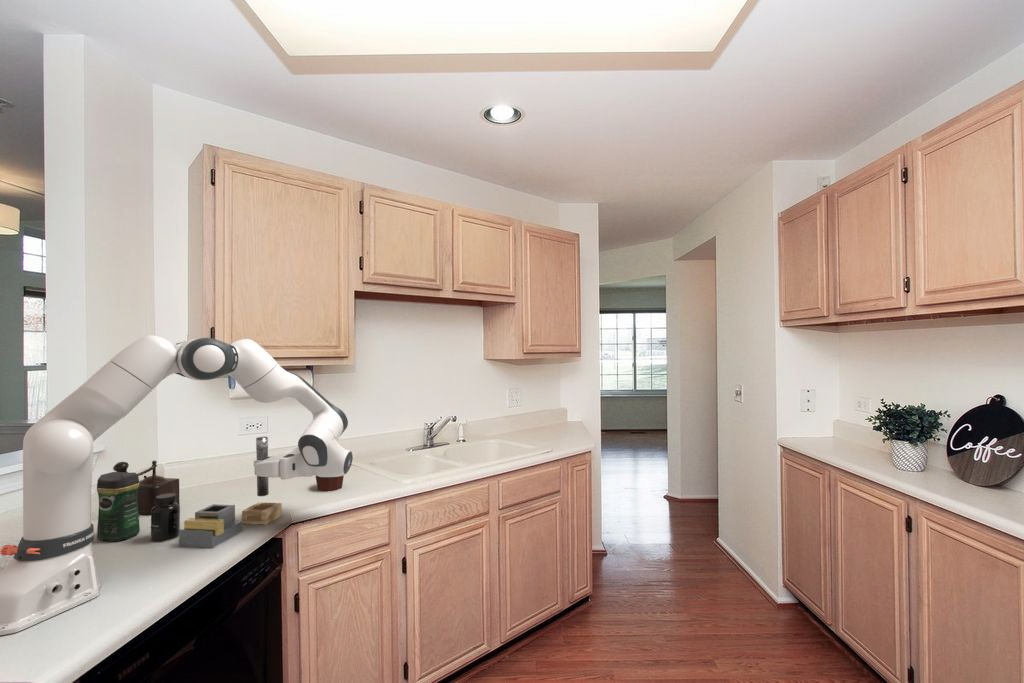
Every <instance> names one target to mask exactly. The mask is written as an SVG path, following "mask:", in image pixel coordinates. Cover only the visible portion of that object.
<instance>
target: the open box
mask: <svg viewBox="0 0 1024 683" xmlns="http://www.w3.org/2000/svg"><path fill="white" fill-rule="evenodd" d="M282 504H283V503H282V502H256V503H254V504H251V505H250V506H249V507H247V508H244V509H243V510H241V521H242V523H245V524H244V525H249V524H248V523H251V524H250V525H258V524H264V526H266V525H269V524H270V523H271V522H273V521H275V520H277V519H278V518H280V517H282V516H283V514H282V512H283V511H282V507H283V506H282ZM246 523H247V524H246Z"/></svg>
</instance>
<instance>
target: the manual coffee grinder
mask: <svg viewBox="0 0 1024 683" xmlns="http://www.w3.org/2000/svg"><path fill="white" fill-rule="evenodd" d="M157 467H158V465H157V461H156V460H152V461H151V466H150V467H149V468H148V469H145V470H143V471H140V472H138V473H137V474H138V476H143V475H144V474H147V473H149V472H151V471H152V473H151V474H152V475H150V476H147V475H144V476H143V478H142V479H141V480H140V479H139V487H138V493H137V499H138V514H139V516H151V510H152V508H153V507H154V506H156V504H155V502H156V497H157V496H159V495H162V494H168V493H174V494H176V501H175V502H176V503H178V504H179V505H181V504H180V478H175V477H174V478H172V477H165V476H160V475H157V473H156V471H157V469H156V468H157ZM128 469H129V463H128V462H127V461H119V462H117V463H116V464H114V466H113V467H112V470H113V472H128Z"/></svg>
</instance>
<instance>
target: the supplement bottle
mask: <svg viewBox="0 0 1024 683" xmlns="http://www.w3.org/2000/svg"><path fill="white" fill-rule="evenodd" d="M175 501H176V494H174V493H168V494H162V495H159V496H157V497H156V502H155V504H156V506H154V507H153V508H152V510H151V515H150V539H151V541H153V542H158V543H159V542H167V541H170V540H173V539H175V538H176V539H177V537H179V530H180V529H181V516H180V515H181V506H180V505H181V504H180V505H179V504H178V503H176V502H175Z"/></svg>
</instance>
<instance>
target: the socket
mask: <svg viewBox="0 0 1024 683" xmlns="http://www.w3.org/2000/svg"><path fill="white" fill-rule="evenodd" d="M194 518H204V519H224V533H222V534H220V535H218V536H213V531H206V530H184V529H181V528H180V530H179V535H178V547H180V548H182V547H183V548H202V549H213V548H216V547H217V546H219V545H220V544H222V543H225V542H226V541H228V540H230V539H232V538H233V537H235V536H236V535H238V534H240V533H242V532H243V524H242V520H236V505H235V504H211V505H208V506H207V507H204V508H202V509H199V510H198V511H196V512H194ZM241 531H242V532H241ZM234 535H235V536H234Z"/></svg>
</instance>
